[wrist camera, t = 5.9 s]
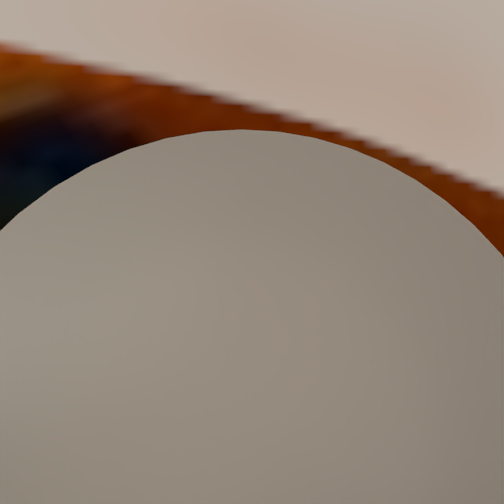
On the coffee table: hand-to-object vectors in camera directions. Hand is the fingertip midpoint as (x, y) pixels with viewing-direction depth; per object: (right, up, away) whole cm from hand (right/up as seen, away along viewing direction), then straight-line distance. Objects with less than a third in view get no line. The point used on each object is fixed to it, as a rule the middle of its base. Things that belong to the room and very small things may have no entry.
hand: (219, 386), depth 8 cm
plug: (-1, -3, +7) cm, 7 cm away
